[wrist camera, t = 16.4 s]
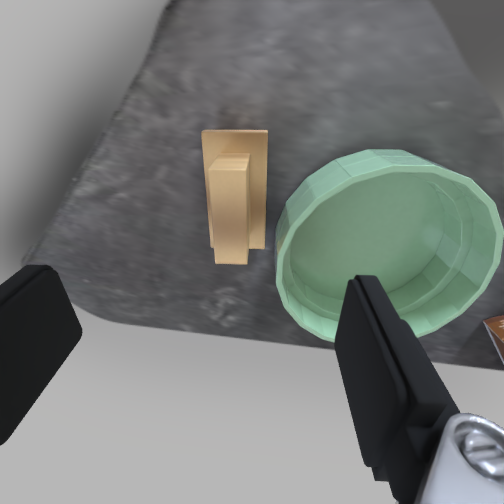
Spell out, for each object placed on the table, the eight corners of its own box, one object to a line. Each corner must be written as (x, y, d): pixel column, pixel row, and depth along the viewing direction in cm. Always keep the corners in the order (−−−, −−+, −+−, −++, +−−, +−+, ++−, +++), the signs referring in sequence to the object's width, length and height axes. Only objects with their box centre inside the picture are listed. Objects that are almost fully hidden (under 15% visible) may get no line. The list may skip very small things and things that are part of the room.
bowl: (279, 146, 24) (282, 163, 18) (487, 149, 23) (551, 167, 18) (271, 302, 32) (272, 343, 27) (422, 307, 32) (453, 350, 26)
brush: (207, 127, 23) (183, 143, 17) (267, 127, 23) (268, 143, 16) (215, 235, 28) (199, 280, 22) (264, 236, 28) (264, 281, 22)
